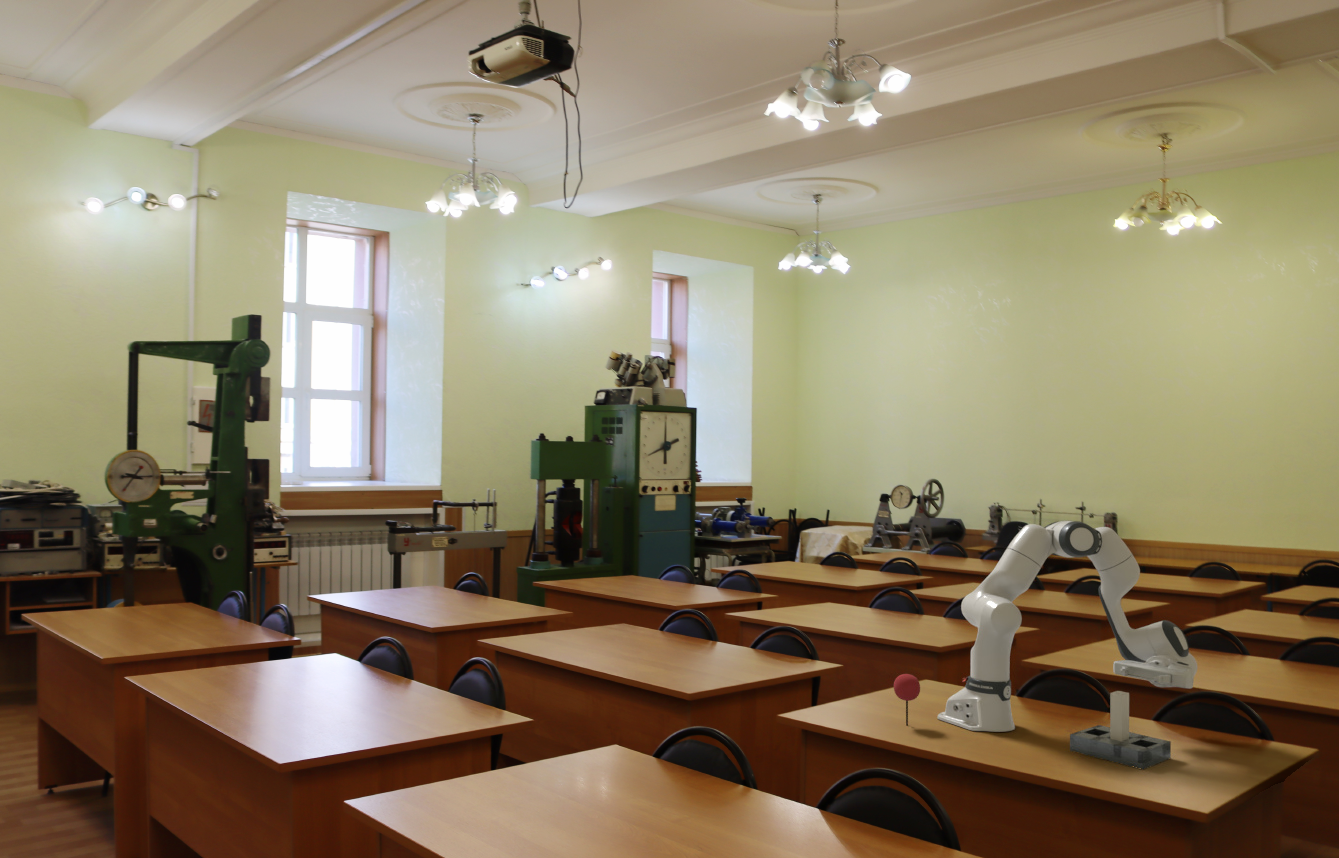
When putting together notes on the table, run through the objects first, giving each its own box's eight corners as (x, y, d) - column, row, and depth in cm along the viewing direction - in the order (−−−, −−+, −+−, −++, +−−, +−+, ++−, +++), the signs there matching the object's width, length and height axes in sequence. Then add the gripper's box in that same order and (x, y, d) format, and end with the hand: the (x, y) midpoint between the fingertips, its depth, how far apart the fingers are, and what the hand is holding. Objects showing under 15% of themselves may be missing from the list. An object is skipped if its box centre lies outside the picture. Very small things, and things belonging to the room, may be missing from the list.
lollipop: (917, 722, 285) (918, 671, 285) (921, 729, 277) (922, 677, 278) (891, 721, 285) (892, 670, 286) (895, 728, 278) (895, 676, 278)
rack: (1142, 769, 243) (1142, 751, 243) (1069, 750, 258) (1070, 734, 259) (1170, 758, 253) (1170, 741, 253) (1098, 740, 268) (1098, 724, 269)
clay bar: (1121, 751, 253) (1121, 695, 254) (1110, 748, 256) (1110, 692, 256) (1129, 748, 256) (1129, 692, 257) (1117, 745, 258) (1117, 690, 259)
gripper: (1126, 653, 281) (1103, 657, 272) (1199, 666, 265) (1177, 671, 256) (1125, 674, 281) (1102, 679, 272) (1198, 689, 265) (1176, 695, 256)
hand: (1139, 676), depth 264 cm, fingers open, 8 cm apart
